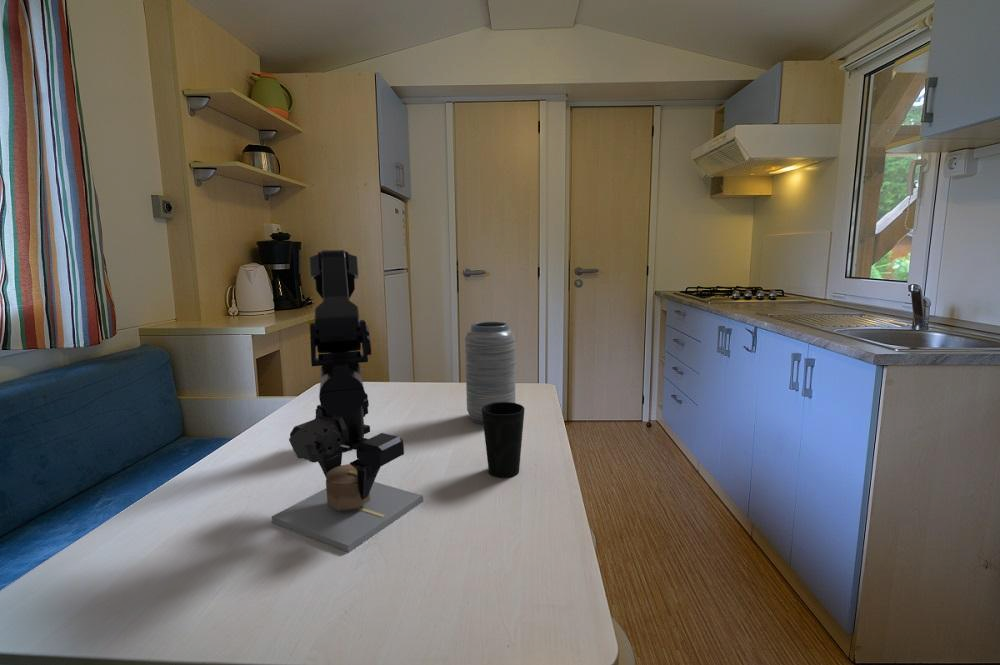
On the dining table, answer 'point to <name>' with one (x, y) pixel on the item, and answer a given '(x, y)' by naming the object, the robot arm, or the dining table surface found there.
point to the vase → (489, 366)
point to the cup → (503, 437)
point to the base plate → (347, 516)
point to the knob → (344, 488)
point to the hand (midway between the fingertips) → (349, 493)
